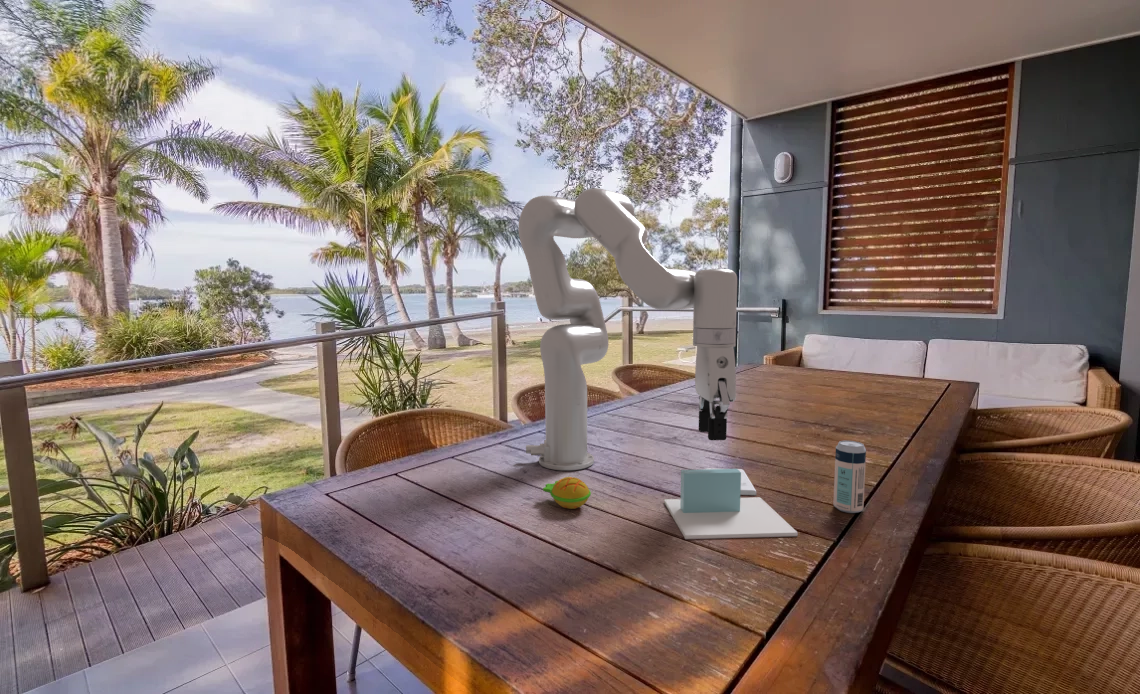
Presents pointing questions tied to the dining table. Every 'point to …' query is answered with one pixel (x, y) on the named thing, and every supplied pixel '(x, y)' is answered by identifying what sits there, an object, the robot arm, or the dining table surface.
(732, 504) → the tile
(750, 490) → the external hard drive
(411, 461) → the dining table surface
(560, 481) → the yellow green rounded piece
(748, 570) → the dining table surface
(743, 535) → the mat
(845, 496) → the beer can
